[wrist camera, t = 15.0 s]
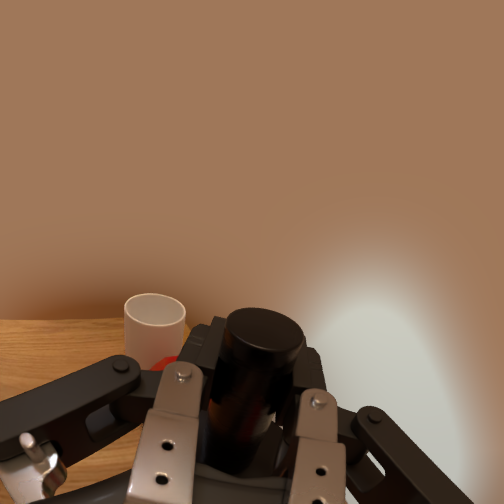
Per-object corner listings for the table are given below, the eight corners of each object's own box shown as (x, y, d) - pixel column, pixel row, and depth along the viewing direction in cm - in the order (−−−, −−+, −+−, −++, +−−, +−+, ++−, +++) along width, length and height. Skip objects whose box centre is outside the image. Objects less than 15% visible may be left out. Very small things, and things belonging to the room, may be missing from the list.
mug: (167, 336, 47) (172, 283, 44) (186, 382, 37) (193, 324, 34) (121, 337, 43) (120, 282, 40) (130, 387, 33) (127, 326, 30)
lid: (306, 513, 8) (413, 397, 6) (148, 514, 7) (121, 397, 5) (277, 415, 15) (325, 290, 13) (158, 406, 14) (166, 267, 12)
